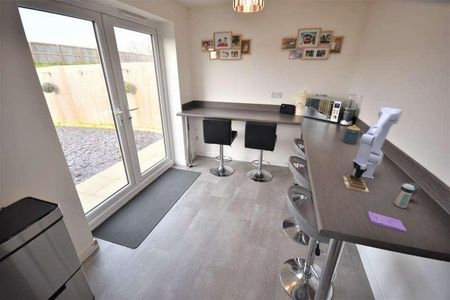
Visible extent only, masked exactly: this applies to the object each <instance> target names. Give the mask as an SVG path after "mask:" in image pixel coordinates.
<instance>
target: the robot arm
mask: <svg viewBox="0 0 450 300" xmlns="http://www.w3.org/2000/svg"><path fill="white" fill-rule="evenodd" d="M402 113H403V110H402V109H401V108H400V109H399V108H395V107H394V108H393V107H386V106H381V108H380V109H379V111H378V113H377V114H378V119H377V121H376V123H375V124H373V125H371V126H370V127H369V129H368V130H367V131H366V133H363V134H362V135H361V137H360V140H359V144H358V145H359V148H358V151H357V155H356V157H355V159H352V163H353V164H352V165H353V169H352V170H353V171H354V168H355V167H356V174H355V177H356V178H360V177H361V175H362V174H363V176H362V178H368V179H372V180H375V177H374V176H373V175H374V172H375V170H376V167H377V166H378V165H380V164H381V162H382V161H383V159H384V152H383V151H382V150H381V149H382V147H383V145H384V143H385V141H386V138H387V137H388V134H389V132H390V130H391V128H392V126H393V125H396V124H398V122H399V121H400V119H401V117H402V115H403V114H402ZM353 171H352V172H353Z"/></svg>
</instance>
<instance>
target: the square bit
mask: <svg viewBox="0 0 450 300" xmlns="http://www.w3.org/2000/svg"><path fill="white" fill-rule="evenodd" d="M353 169H354V171H352V174H351V175H352V177H351V179H353V180H358V181H361V178H362V179H363V177H362V176H363V174H362V175H361V177H360V178H356V177H355V174H356V167H355V168H354V167H353Z"/></svg>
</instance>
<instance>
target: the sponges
mask: <svg viewBox="0 0 450 300" xmlns="http://www.w3.org/2000/svg"><path fill="white" fill-rule="evenodd" d="M367 216H368V218H369V221H370V223H371V224H372V225H377V226H380V227H384V228H387V227H388V229H392V230H394V229H395V230H394V231H398V230H399V232H401V231H403V232H402V233H406V232H407V228H406V227H405V226H404V224H403V223H402V221H401V220H400V219H398V218H397V219H396V218H394V217H389V216H386V215H382V214H379V213H375V212H372V211H367Z"/></svg>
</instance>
